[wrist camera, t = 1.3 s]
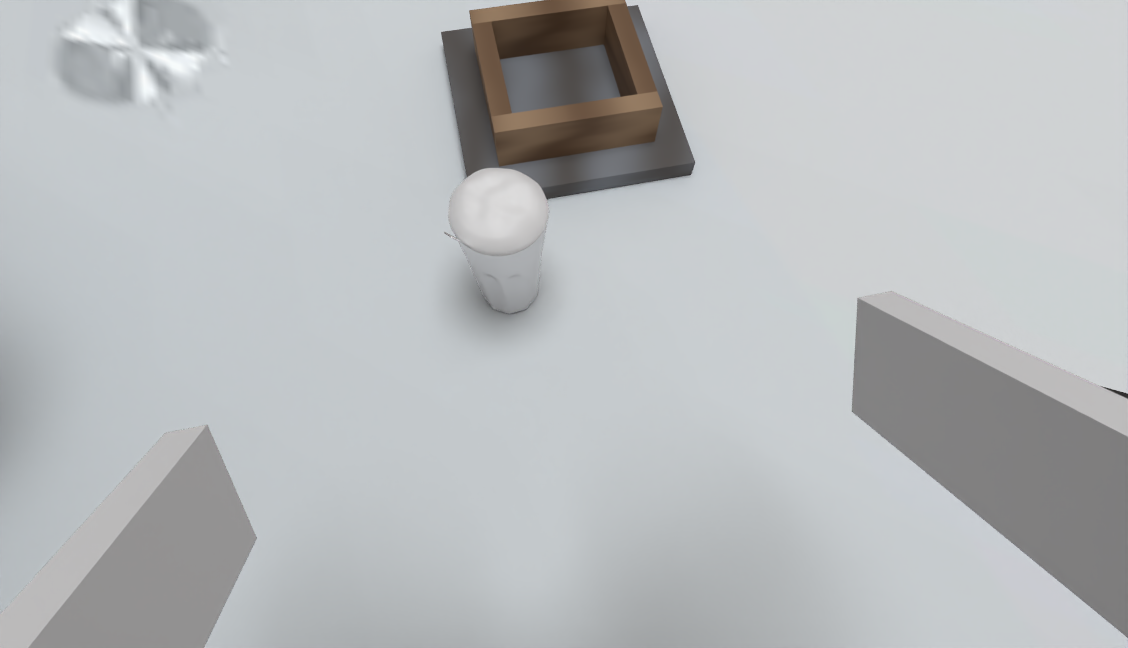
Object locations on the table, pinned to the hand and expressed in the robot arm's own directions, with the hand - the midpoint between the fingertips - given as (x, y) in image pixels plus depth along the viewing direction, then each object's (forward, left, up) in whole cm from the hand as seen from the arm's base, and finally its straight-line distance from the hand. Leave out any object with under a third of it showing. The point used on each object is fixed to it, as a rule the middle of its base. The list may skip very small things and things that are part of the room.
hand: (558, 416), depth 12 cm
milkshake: (0, +12, -19) cm, 23 cm away
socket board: (+6, +25, -19) cm, 32 cm away
